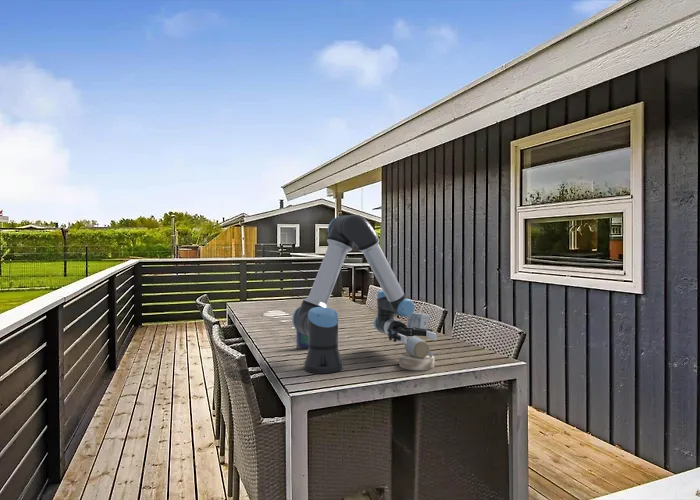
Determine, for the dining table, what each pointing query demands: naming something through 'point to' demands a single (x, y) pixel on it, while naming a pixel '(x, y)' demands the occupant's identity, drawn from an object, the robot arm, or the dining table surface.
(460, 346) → the dining table surface
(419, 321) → the incense holder
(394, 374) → the dining table surface
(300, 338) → the flask
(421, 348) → the ceramic mug
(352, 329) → the dining table surface
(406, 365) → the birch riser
